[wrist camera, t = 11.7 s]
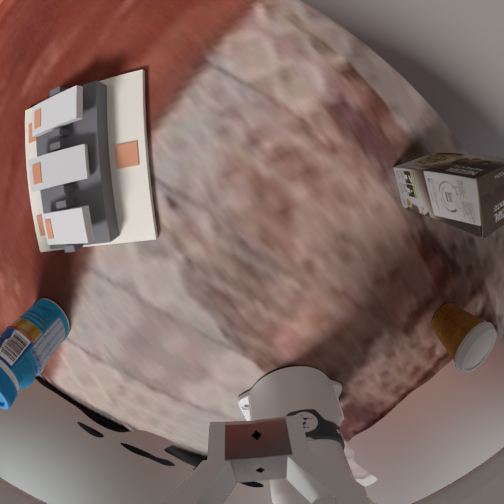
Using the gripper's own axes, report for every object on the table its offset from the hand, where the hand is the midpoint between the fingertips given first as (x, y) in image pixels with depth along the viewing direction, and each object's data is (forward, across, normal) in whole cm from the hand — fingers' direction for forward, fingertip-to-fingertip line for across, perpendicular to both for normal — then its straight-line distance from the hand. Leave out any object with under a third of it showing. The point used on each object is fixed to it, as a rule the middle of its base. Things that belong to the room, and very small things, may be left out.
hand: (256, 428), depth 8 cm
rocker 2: (+22, -20, +11) cm, 32 cm away
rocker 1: (+22, -20, +18) cm, 35 cm away
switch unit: (+28, -20, +12) cm, 37 cm away
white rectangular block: (+22, -20, +4) cm, 31 cm away
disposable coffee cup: (+29, +36, -19) cm, 50 cm away
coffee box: (+28, +26, +6) cm, 39 cm away
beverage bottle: (+29, -34, -12) cm, 46 cm away
